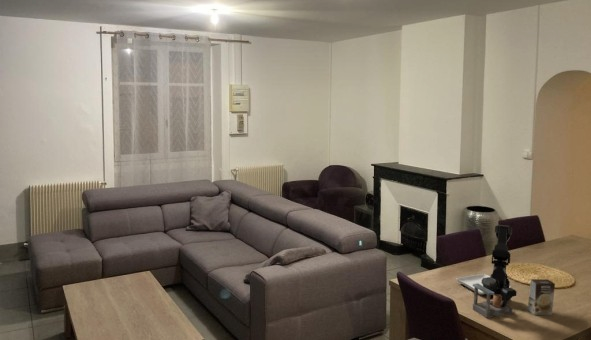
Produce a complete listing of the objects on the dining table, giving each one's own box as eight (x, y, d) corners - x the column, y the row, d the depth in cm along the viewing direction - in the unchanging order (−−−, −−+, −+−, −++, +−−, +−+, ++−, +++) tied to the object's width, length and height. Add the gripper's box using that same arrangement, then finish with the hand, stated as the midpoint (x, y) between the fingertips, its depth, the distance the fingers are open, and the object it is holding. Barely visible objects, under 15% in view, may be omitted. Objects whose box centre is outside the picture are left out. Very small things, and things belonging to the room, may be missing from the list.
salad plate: (512, 292, 270) (512, 286, 269) (481, 298, 262) (481, 292, 262) (484, 278, 289) (484, 273, 289) (454, 283, 282) (455, 278, 281)
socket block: (496, 304, 254) (498, 280, 251) (513, 314, 242) (515, 289, 240) (471, 308, 249) (472, 284, 247) (487, 318, 238) (489, 293, 235)
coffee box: (534, 315, 241) (536, 284, 239) (527, 309, 248) (529, 279, 245) (552, 315, 242) (555, 283, 239) (545, 309, 248) (548, 278, 245)
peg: (497, 308, 249) (498, 293, 248) (502, 311, 245) (503, 296, 244) (490, 309, 248) (491, 294, 246) (496, 313, 244) (497, 297, 243)
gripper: (473, 268, 250) (471, 297, 252) (499, 282, 232) (497, 313, 235) (491, 266, 253) (489, 295, 255) (518, 279, 235) (516, 310, 238)
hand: (497, 303), depth 246 cm, fingers open, 9 cm apart
